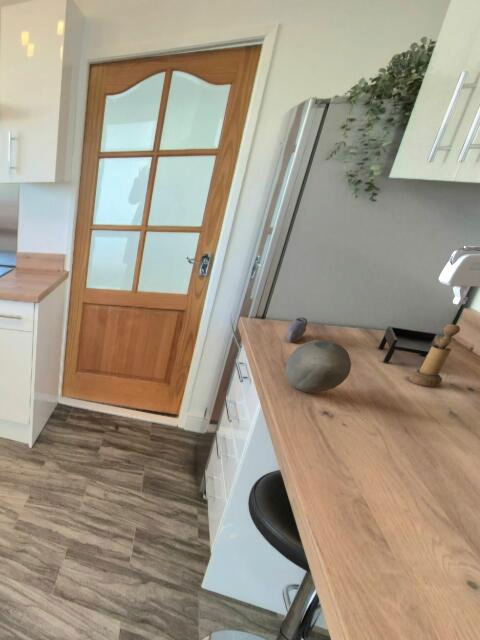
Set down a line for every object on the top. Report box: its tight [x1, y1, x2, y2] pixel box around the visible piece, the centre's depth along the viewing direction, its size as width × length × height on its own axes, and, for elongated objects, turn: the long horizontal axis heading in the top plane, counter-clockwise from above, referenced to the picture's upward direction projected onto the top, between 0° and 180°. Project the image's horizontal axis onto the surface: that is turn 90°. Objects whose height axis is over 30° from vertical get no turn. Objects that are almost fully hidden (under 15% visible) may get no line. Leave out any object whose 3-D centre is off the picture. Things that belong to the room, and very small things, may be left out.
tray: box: [378, 326, 438, 364], centre depth 141 cm, size 12×16×8 cm
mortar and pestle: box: [408, 323, 461, 388], centre depth 123 cm, size 7×6×18 cm
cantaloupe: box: [285, 339, 352, 394], centre depth 118 cm, size 14×14×15 cm
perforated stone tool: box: [286, 316, 308, 343], centre depth 158 cm, size 15×5×7 cm, turn 135°
